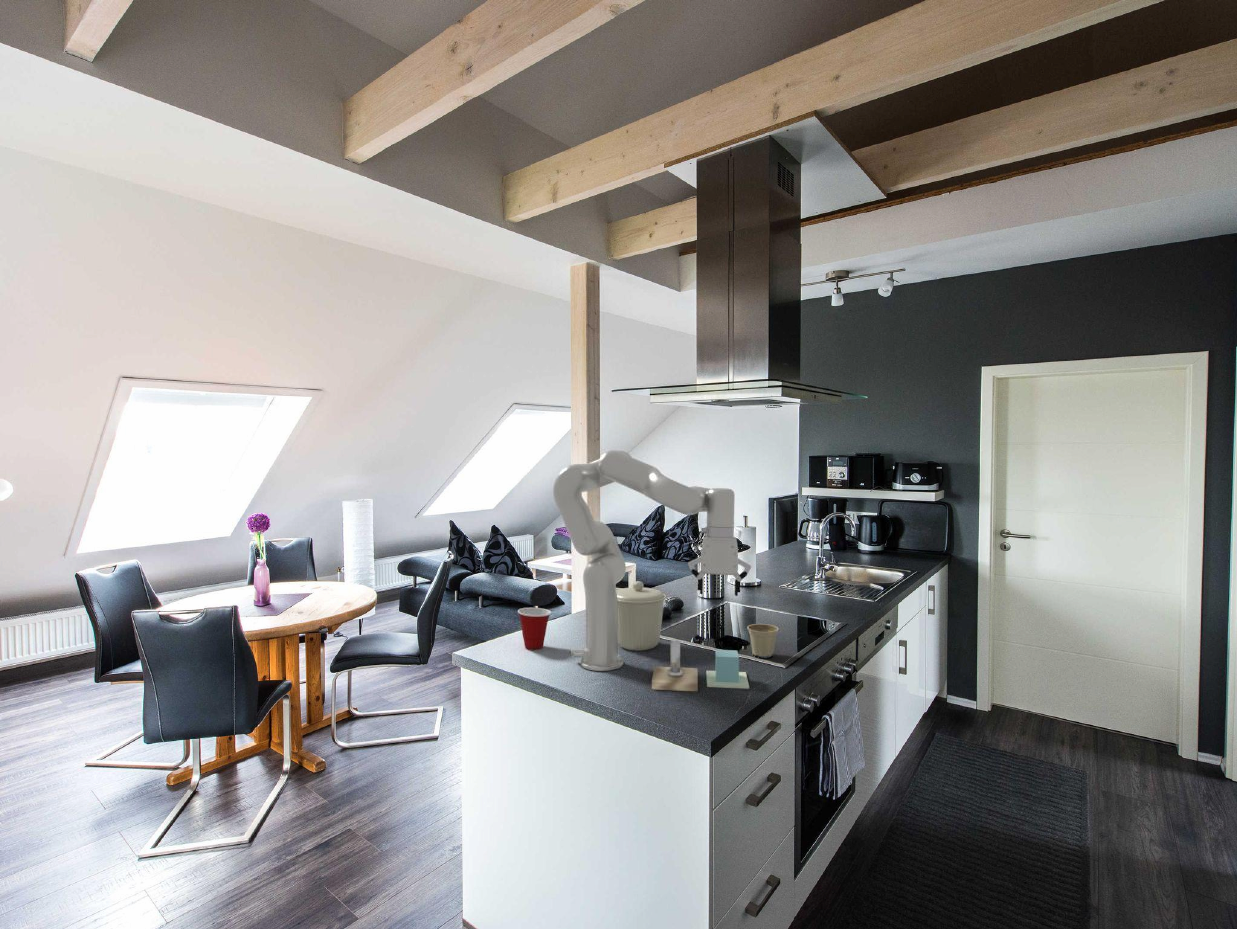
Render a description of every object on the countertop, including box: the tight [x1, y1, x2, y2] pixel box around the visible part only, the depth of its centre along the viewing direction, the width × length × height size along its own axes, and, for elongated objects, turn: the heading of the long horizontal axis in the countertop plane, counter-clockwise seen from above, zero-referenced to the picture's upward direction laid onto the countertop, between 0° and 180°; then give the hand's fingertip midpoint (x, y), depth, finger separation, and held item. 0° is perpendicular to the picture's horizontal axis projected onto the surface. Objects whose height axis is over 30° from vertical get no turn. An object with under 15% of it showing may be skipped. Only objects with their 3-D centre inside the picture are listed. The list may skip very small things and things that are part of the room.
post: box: [668, 639, 683, 677], centre depth 170 cm, size 4×4×9 cm
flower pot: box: [746, 623, 779, 656], centre depth 192 cm, size 9×9×9 cm
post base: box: [651, 666, 699, 692], centre depth 170 cm, size 12×12×2 cm
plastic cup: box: [517, 607, 552, 650], centre depth 201 cm, size 11×11×12 cm
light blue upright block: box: [714, 649, 740, 683], centre depth 171 cm, size 6×6×7 cm
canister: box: [616, 580, 667, 652], centre depth 202 cm, size 18×18×21 cm
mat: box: [705, 670, 750, 690], centre depth 171 cm, size 11×11×1 cm
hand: (718, 594), depth 174 cm, fingers open, 9 cm apart
